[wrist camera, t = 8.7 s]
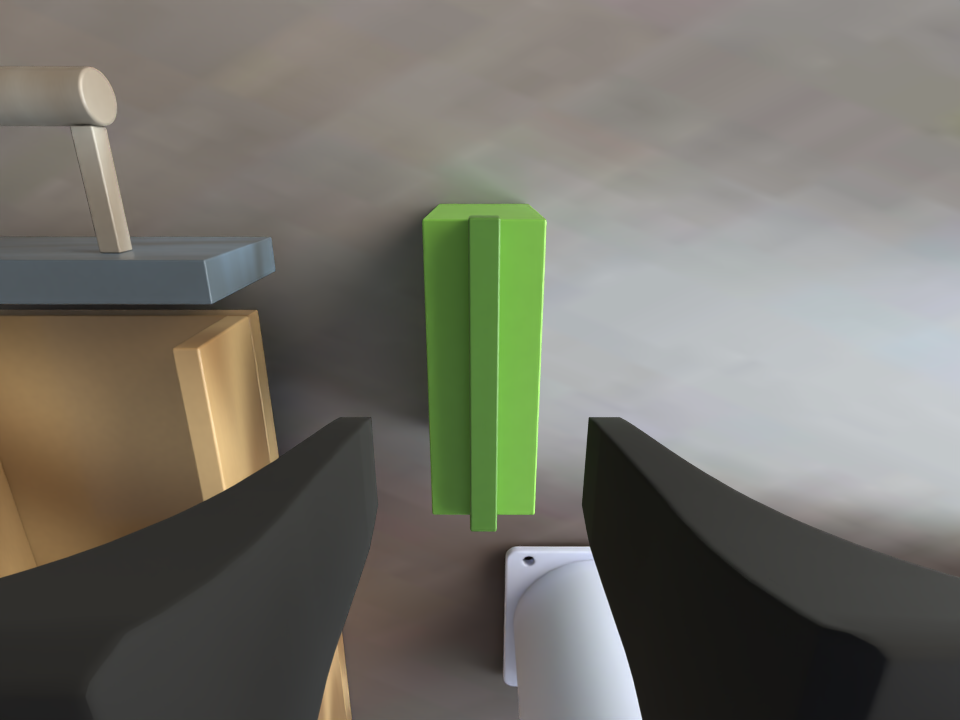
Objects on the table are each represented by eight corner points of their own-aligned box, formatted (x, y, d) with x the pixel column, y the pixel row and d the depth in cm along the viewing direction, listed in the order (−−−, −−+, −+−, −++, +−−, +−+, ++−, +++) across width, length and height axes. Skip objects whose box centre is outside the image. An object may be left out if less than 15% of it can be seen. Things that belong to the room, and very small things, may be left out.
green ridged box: (529, 201, 19) (550, 217, 13) (522, 434, 22) (536, 532, 16) (438, 200, 19) (418, 217, 13) (444, 434, 22) (430, 532, 16)
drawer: (-140, 85, 17) (-364, 56, 13) (252, 85, 17) (169, 56, 13) (50, 627, 25) (-47, 731, 20) (322, 628, 25) (286, 732, 20)
